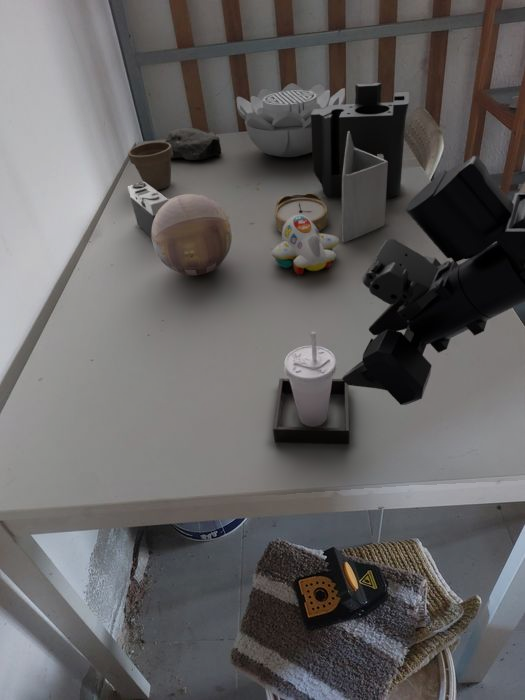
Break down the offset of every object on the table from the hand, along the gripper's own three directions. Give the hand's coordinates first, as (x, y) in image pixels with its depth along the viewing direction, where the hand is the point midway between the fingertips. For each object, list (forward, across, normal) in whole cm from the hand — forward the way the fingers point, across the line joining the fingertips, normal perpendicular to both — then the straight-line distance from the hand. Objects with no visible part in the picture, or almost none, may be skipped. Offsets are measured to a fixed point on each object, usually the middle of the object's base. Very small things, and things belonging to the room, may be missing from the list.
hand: (358, 355), depth 59 cm
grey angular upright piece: (+21, -56, -3) cm, 60 cm away
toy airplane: (+25, -38, -7) cm, 46 cm away
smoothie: (+13, 0, +5) cm, 14 cm away
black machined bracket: (+26, -73, -8) cm, 78 cm away
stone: (+65, -85, -47) cm, 117 cm away
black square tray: (+13, 0, +4) cm, 14 cm away
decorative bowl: (+45, -96, -26) cm, 109 cm away
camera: (+51, -41, -33) cm, 73 cm away
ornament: (+39, -28, -21) cm, 52 cm away
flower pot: (+64, -64, -45) cm, 101 cm away
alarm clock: (+31, -54, -13) cm, 63 cm away
